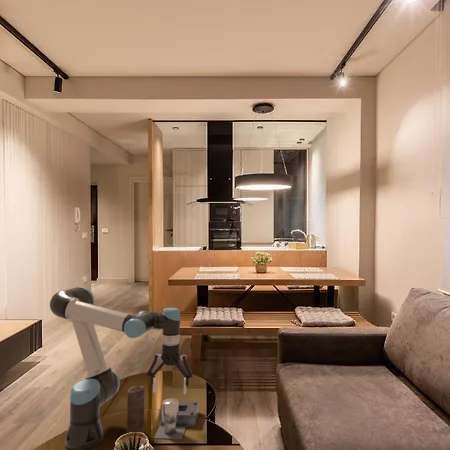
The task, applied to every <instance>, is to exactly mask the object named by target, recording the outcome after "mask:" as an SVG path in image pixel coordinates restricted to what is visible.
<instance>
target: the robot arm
mask: <svg viewBox="0 0 450 450" xmlns="http://www.w3.org/2000/svg"><path fill="white" fill-rule="evenodd" d="M94 303H95V296H94V294H93V292H92V291H91V290H90V289H89V288H86V287H84V286H82V287H81V286H78V287H77V286H76V287H72V288H67V289H63V290H59V291H57V292H56V293H54V294H53V295H52V297H51V298H50V302H49V309H50V311H51V312H52V313H53V315H55V316H56V317H58V318H61V319H66V320H67V321H69V322H71V323H72V326H73V328H74V333H75V336H76V338H77V339H76V340H77V342H78V346H79V349H80V353H81V355H82V359H83V362H84V366H85V369H86V375H85V376H84V377H85V379H84V380H79V381H78V382H76V383H75V384H74V385H73V386H72V387H71V389H70V396H69V401H70V402H69V406H70V407H69V408H70V409H69V426H68V428H67V431H66V435H65V438H64V446H65V447H66V448H67V449H68V450H88V449H91V448H94V447H96V446H97V445H99V444H100V443H101V442H103V440H104V430H103V426H102V423H101V419H100V407H101V406H103V405H104V404H105V403H106V402H108V401H109V400H111V399H113V397H114V396H115V395H116V394H117V393H118V392H119V389H120V385H121V380H120V376H119V374H118V373H116V372H115V371H114V370H112V368H111V367H112V366H110V365H108V364H106V360H105V356H104V354H103V353H104V352H103V351H102V347H101V344H100V340H99V337H98V334H97V330H96V328H95V325H96V326H100V327H102V328H103V327H104V328H107V329H111V330H114V331H118V332H122V333H124V334H125V335H126V336H127V337H128V338H131V339H136V338H139V337H141V336H142V335H144V334H145V333H147V332H150V331H151V330H162V341H161V342H162V345H161V348H162V349H161V354H159V352H158V353H155V355H154V360H153V362H152V364H151V365H150V367H149V369H148V371H147V373H146V376H148V377H150V384H151V385H152V393H153V394H155V393H156V392H157V375H156V374H157V373H158V372H159V371H160V370H161V369H162V368H163V367H164V366H165V365H166V367H167V366H172V367H173V366H175V367H176V368H177V369H178V371H180V373H181V374H182V375H183V376H184V378H183V395H186V393H187V387H189V385H190V378H191V379H192V378H193V376H194V372H193V371H192V369H191V366H190V364H189V362H188V359H187V354H183V355H180V342H181V341H180V338H181V337H180V335H181V334H180V333H181V331H180V330H181V329H180V328H181V311H180V309H179V308H177V307H166V308H163V311H161V312H160V311H149V310H145V311H143V310H141V311H139V312H138V314H137V315H133V314H129V313H126V312H122V311H118V310H115V309H111V308H107V307H103V306H99V305H95V304H94ZM158 360H162V362H161V363H160V364H159V365H158V366H157V368H156V369H155V370H154V368H155V366H156V364H157V363H158ZM179 360H181V361H182V362H183V365H184V367H185V368H184V367H183V365H182V364H181V362H180V361H179ZM153 370H154V371H153Z"/></svg>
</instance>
